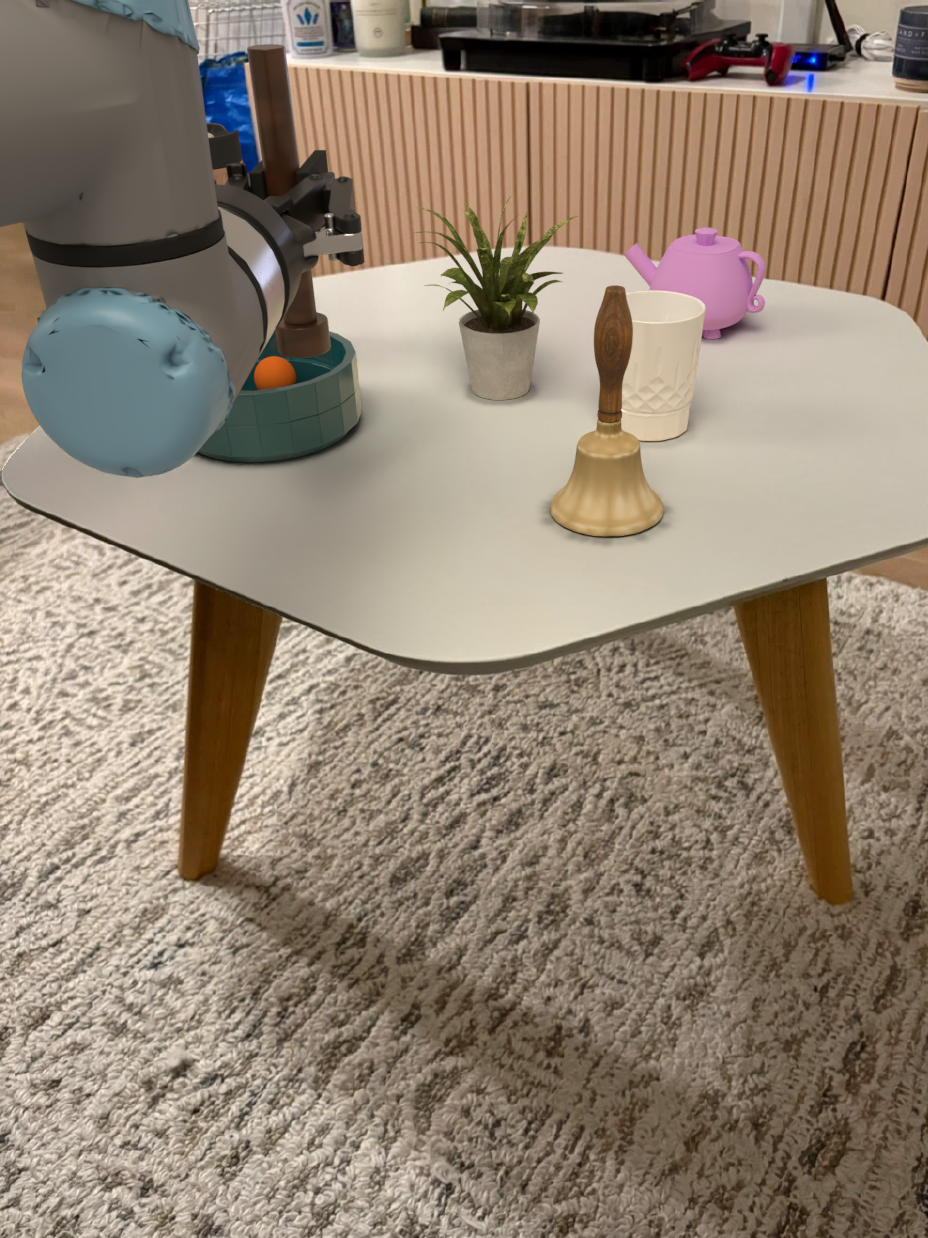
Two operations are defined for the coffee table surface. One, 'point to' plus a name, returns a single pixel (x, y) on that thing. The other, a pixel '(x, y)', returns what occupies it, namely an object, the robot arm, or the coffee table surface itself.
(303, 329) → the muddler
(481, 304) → the house plant
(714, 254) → the teapot
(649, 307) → the white cup
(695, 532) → the coffee table surface
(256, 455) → the bowl
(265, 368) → the orange ball
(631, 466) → the hand bell
